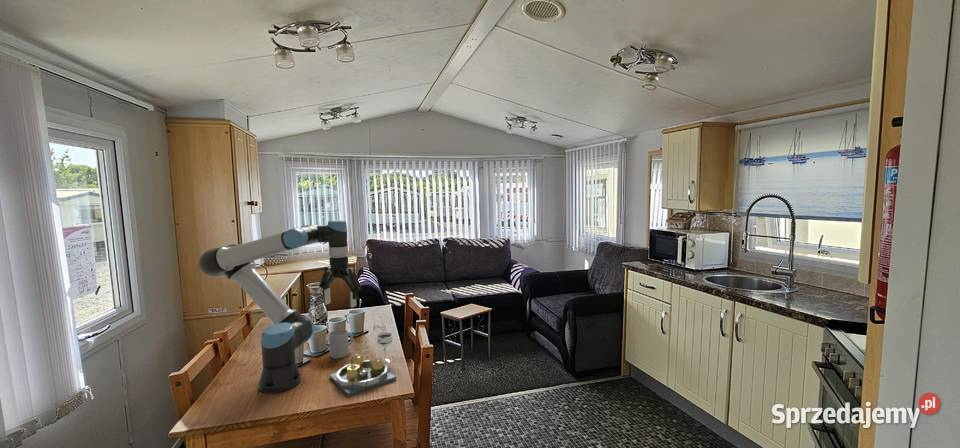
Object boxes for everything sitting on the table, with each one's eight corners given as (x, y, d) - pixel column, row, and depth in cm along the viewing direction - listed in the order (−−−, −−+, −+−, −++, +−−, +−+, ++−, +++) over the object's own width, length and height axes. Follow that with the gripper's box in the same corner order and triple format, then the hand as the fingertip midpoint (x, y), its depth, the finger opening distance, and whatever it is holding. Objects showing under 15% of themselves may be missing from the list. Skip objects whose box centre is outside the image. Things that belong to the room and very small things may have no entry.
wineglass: (381, 357, 179) (380, 332, 178) (395, 357, 178) (394, 332, 177) (375, 363, 172) (374, 337, 171) (389, 364, 171) (388, 338, 170)
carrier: (348, 396, 144) (347, 375, 143) (329, 377, 159) (329, 358, 158) (396, 379, 157) (395, 359, 156) (375, 363, 172) (374, 345, 171)
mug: (336, 360, 176) (336, 337, 175) (326, 355, 181) (325, 333, 180) (358, 351, 186) (357, 329, 185) (347, 347, 191) (346, 326, 190)
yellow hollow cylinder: (354, 385, 149) (354, 370, 149) (344, 383, 151) (344, 368, 150) (362, 379, 154) (362, 365, 153) (352, 378, 155) (352, 363, 155)
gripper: (368, 256, 162) (370, 305, 164) (321, 253, 170) (323, 300, 172) (357, 259, 155) (359, 310, 157) (309, 256, 163) (311, 304, 165)
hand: (340, 305), depth 164 cm, fingers open, 13 cm apart
